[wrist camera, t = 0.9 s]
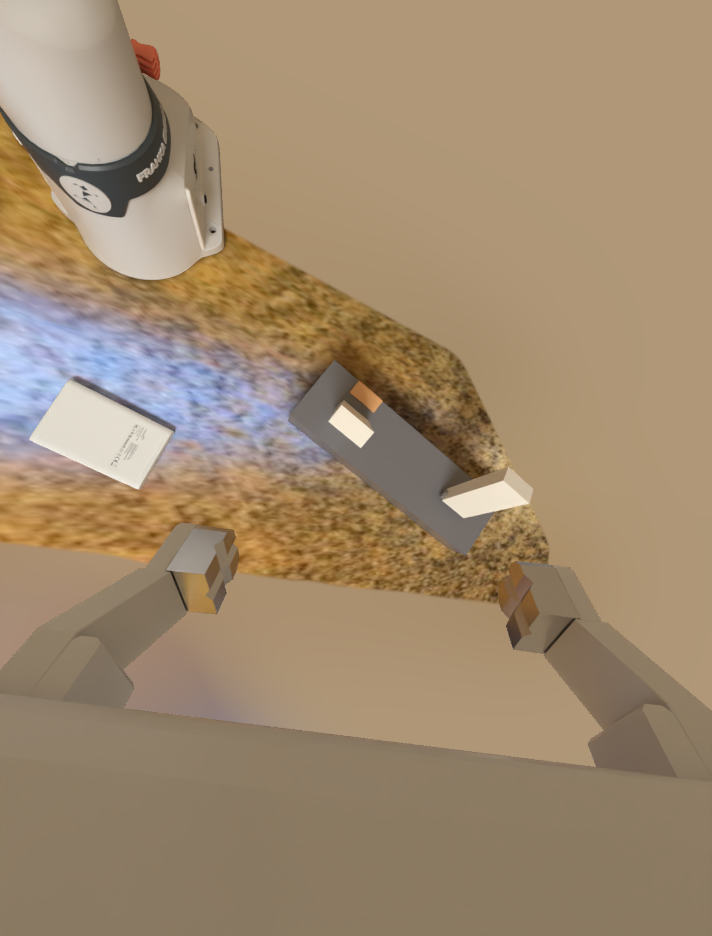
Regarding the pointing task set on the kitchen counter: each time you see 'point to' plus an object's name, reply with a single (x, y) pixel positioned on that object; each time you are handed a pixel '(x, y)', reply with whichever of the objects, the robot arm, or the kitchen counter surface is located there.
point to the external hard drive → (102, 434)
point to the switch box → (389, 457)
